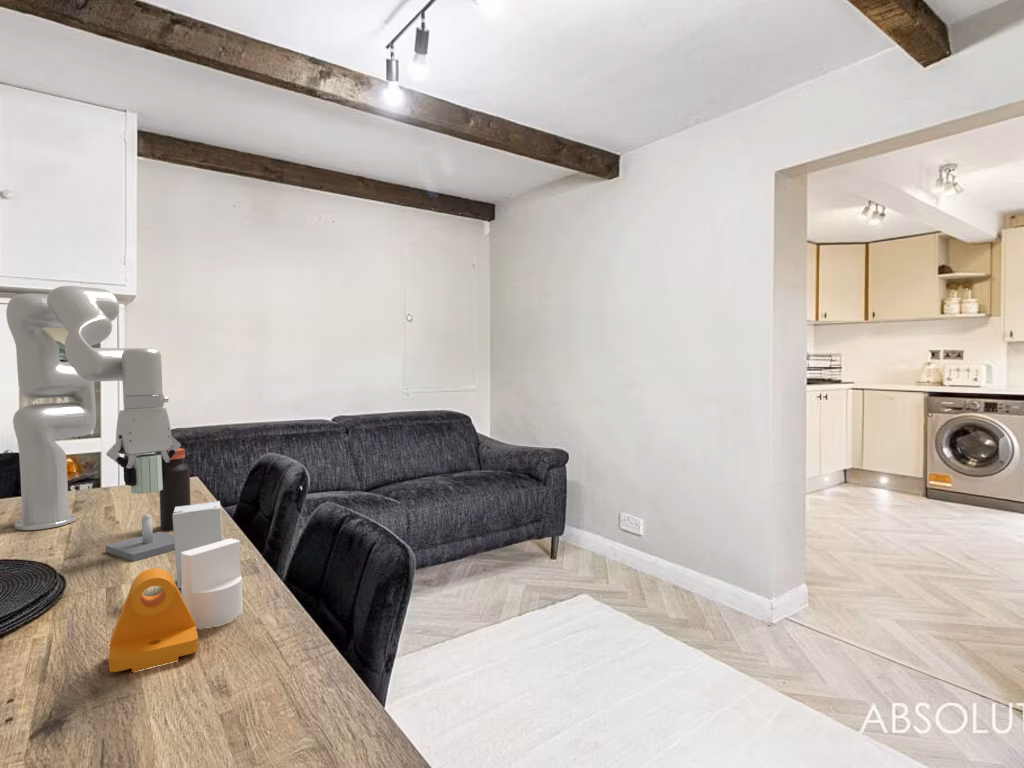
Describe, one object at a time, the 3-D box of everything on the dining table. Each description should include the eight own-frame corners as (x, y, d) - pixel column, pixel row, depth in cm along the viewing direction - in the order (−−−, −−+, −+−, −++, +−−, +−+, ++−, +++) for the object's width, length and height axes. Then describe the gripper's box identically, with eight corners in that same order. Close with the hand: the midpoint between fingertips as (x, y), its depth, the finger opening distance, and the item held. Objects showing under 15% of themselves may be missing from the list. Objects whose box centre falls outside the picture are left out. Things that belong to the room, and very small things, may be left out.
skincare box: (224, 572, 117) (222, 500, 117) (224, 582, 112) (222, 506, 111) (177, 579, 114) (174, 504, 113) (174, 590, 108) (172, 512, 108)
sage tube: (126, 492, 130) (124, 456, 130) (153, 486, 135) (152, 452, 135) (140, 494, 127) (138, 458, 127) (168, 489, 132) (166, 454, 132)
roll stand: (105, 551, 130) (104, 516, 129) (160, 537, 140) (159, 504, 140) (133, 561, 124) (132, 524, 123) (189, 545, 134) (188, 511, 134)
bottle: (154, 528, 147) (152, 450, 146) (178, 521, 154) (176, 447, 153) (173, 531, 145) (170, 452, 144) (197, 524, 151) (195, 448, 150)
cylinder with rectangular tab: (202, 634, 91) (199, 559, 90) (171, 620, 96) (169, 549, 95) (253, 613, 99) (252, 543, 98) (223, 601, 103) (221, 535, 103)
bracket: (109, 679, 78) (106, 592, 78) (111, 656, 84) (108, 575, 84) (198, 657, 84) (196, 576, 84) (194, 637, 90) (192, 561, 90)
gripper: (173, 400, 140) (175, 474, 140) (92, 405, 125) (95, 488, 126) (190, 401, 136) (193, 477, 137) (109, 406, 121) (113, 491, 122)
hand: (146, 481), depth 131 cm, fingers closed on sage tube, 6 cm apart
